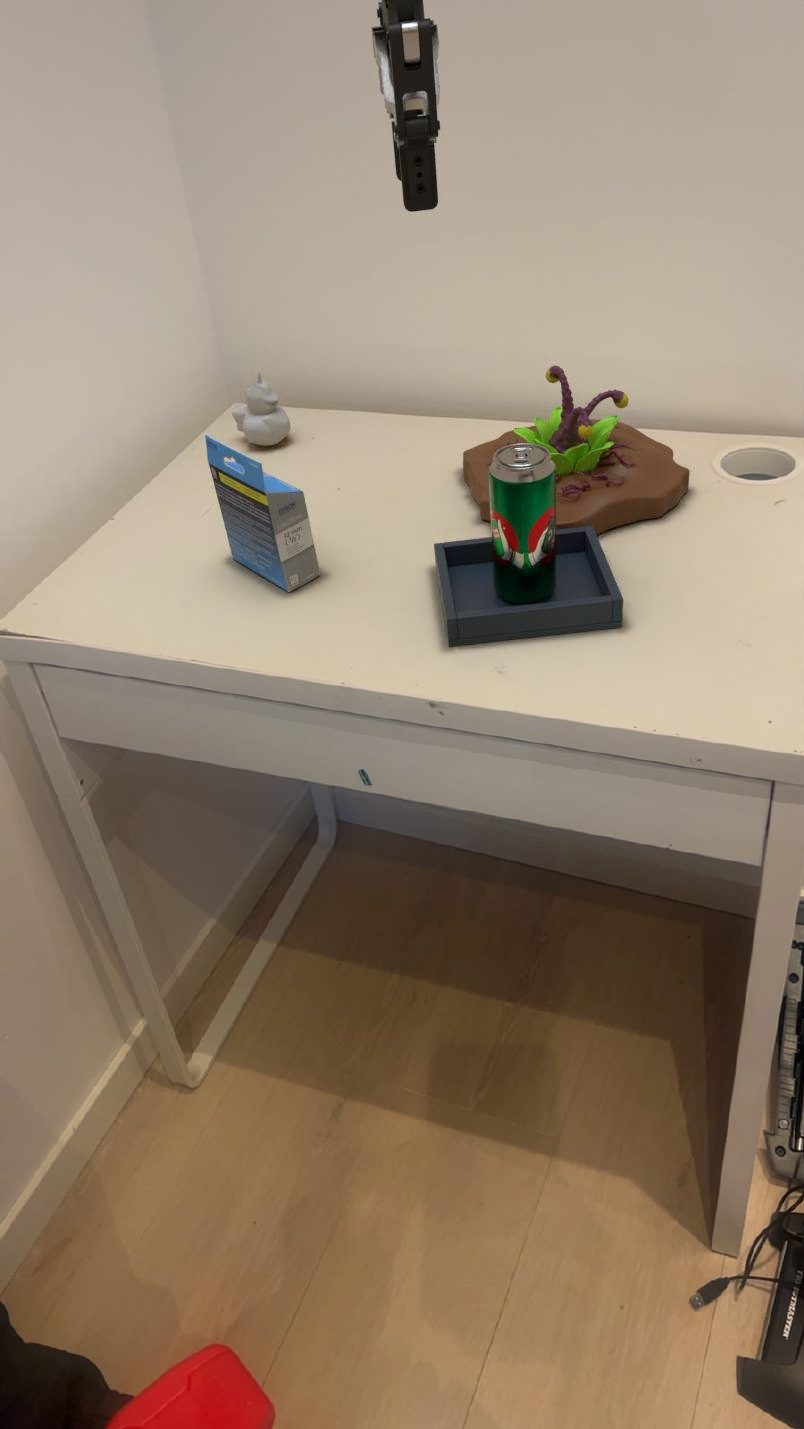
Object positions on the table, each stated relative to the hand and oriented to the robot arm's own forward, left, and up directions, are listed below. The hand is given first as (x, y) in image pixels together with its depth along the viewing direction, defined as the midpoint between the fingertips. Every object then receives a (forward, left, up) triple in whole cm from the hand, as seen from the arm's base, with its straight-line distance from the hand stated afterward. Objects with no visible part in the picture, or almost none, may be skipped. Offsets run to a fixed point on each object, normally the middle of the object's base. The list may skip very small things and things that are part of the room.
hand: (416, 193), depth 70 cm
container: (-6, +5, -30) cm, 31 cm away
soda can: (-6, +5, -30) cm, 31 cm away
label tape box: (+15, -4, -30) cm, 34 cm away
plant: (-13, -13, -30) cm, 35 cm away
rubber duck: (+17, -31, -30) cm, 47 cm away
